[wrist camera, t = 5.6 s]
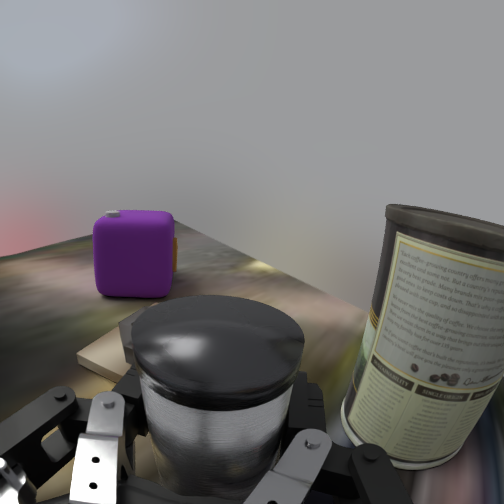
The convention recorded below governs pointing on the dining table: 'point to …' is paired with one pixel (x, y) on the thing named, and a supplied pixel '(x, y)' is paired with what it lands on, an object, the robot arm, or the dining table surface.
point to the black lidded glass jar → (215, 390)
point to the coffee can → (429, 337)
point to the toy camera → (134, 253)
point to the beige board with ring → (112, 350)
